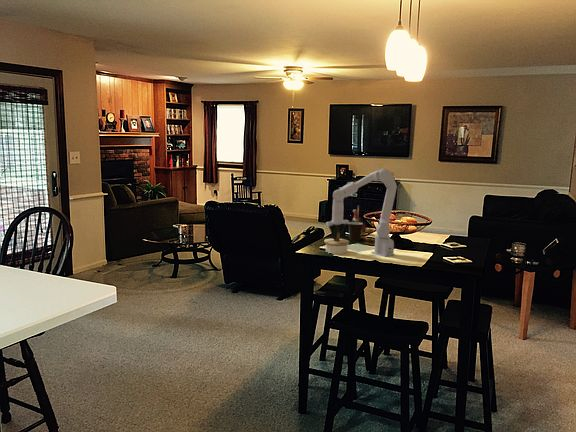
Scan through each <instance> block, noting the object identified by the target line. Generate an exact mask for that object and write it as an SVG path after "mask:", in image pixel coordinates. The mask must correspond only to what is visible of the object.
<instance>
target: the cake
mask: <svg viewBox="0 0 576 432" xmlns="http://www.w3.org/2000/svg"><path fill="white" fill-rule="evenodd" d="M352 212H353V213H354V214H353V218H352V220H351V222H360V223H363V227H362V234H361V235H363V234H365V233H366V231H365V229H366V224H365V222H364V221H363V219H362V218H361V217H359V215H360V214H359V213H360V205H357V209H353V210H352Z"/></svg>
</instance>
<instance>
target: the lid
mask: <svg viewBox="0 0 576 432" xmlns="http://www.w3.org/2000/svg"><path fill="white" fill-rule="evenodd" d="M323 240H324V241H323V242H324V243H325V245H326V244H331V245H347V244H348V245H350V241H349V240H348V239H345V238H341V239H340V233H337V238H336V239H333V238H325V239H323Z"/></svg>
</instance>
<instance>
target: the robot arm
mask: <svg viewBox="0 0 576 432" xmlns="http://www.w3.org/2000/svg"><path fill="white" fill-rule="evenodd" d="M378 181H380V182H382V183H383V185H384V186H385V187H386V192H385V196H384V199H383V200H384V201H383V205H382V209H381V214H380V218H379V220H378V223H377V225H376V227H375V232H376V234H375V236H374V248H375V249H374V251H371V252H370V253H371V254H372V255H377V256H381V257H384V256H385V257H391V256H395V253H394V249H395V242H394V239H391V238H390V221H391V216H392V210H393V206H394V202H395V198H396V193H397V188H398V185H397V182H396V180H395V178H394V175H393V173H392V172H390V171H389V170H388V169H387V168H379V170H375V171H373V172H371V173H369V174H367V175H366V176H364V177H362V178H361V179H359V180H358V181H355V182H354V181H351V182H350V181H348V182H347V183H346V184H345V185H343V186H342V187H338V189H336V190H334V191H333V193H332V209H331V210H332V213H331V216H332V217H331V220H330V221H326V222H325V226H326V227H328V228H329V230H330V233H331V236H332V238H333V239H336V238H337V233H340V239H342V237H343V233H344V231H345V229H346V228H347V225H348V224H349V222H350V220H348V219H344V209H345V208H344V200H345V198H348V197H349V196H351V195H353V194H356V193H357V192H358V191H359V190H358V189H359V188H361V187H363V186H365V185H367V184H369V183H370V182H378Z"/></svg>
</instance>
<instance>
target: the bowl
mask: <svg viewBox="0 0 576 432" xmlns="http://www.w3.org/2000/svg"><path fill="white" fill-rule="evenodd" d="M348 245H349V244H347V245H331V244H326V243H325V253H326V252H328V253H327V254H329V253H332V254H331V255H342V254H343V255H344V253H345V254H347V253H348V249H347V248H348Z"/></svg>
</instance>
